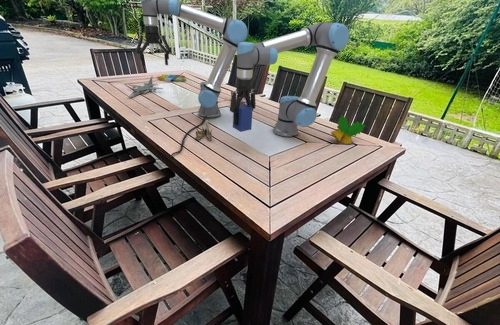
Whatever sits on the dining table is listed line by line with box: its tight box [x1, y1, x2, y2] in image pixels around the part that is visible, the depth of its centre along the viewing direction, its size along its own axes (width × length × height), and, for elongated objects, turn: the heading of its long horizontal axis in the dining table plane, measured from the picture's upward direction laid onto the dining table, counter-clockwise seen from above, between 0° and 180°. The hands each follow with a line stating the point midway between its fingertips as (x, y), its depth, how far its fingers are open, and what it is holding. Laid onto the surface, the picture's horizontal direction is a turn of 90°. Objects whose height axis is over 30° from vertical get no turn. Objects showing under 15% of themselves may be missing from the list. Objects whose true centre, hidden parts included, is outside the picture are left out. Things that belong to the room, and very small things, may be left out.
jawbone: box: [195, 119, 213, 141], centre depth 151 cm, size 9×15×10 cm
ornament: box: [330, 114, 367, 145], centre depth 158 cm, size 21×8×15 cm, turn 105°
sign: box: [156, 74, 187, 83], centre depth 278 cm, size 26×2×30 cm
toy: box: [223, 96, 257, 105], centre depth 219 cm, size 28×7×30 cm
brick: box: [232, 103, 254, 133], centre depth 134 cm, size 7×7×12 cm
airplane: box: [127, 75, 164, 99], centre depth 224 cm, size 38×31×10 cm
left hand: (155, 65), depth 156 cm, fingers open, 13 cm apart
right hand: (242, 123), depth 135 cm, fingers closed on brick, 7 cm apart
